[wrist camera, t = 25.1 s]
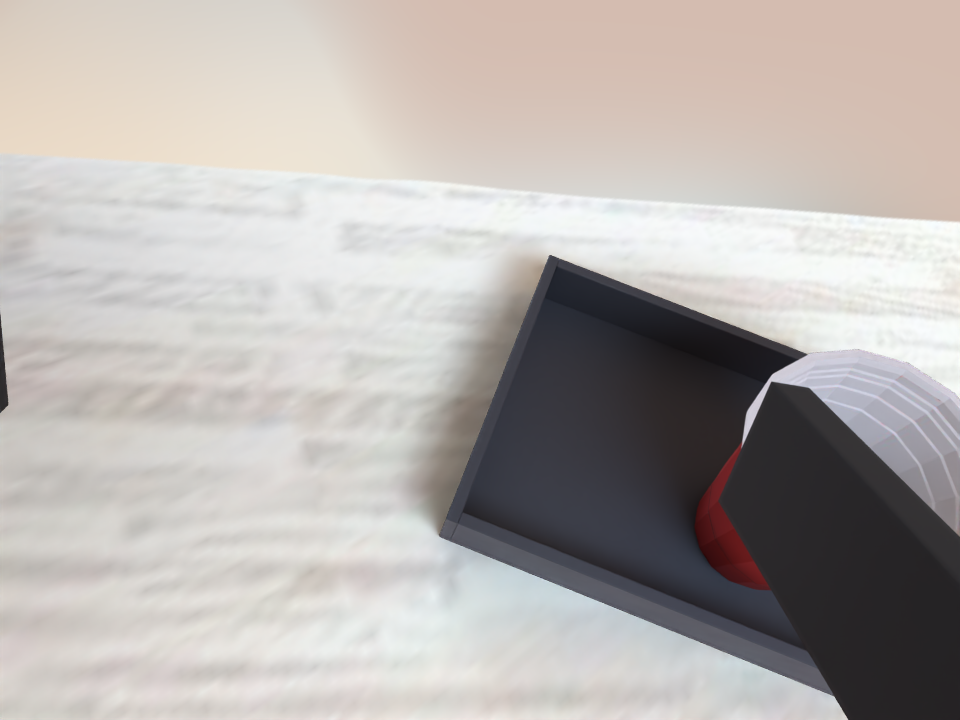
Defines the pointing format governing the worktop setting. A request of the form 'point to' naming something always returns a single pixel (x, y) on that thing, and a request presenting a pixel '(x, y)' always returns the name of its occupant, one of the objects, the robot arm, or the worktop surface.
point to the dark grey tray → (624, 460)
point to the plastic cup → (873, 418)
